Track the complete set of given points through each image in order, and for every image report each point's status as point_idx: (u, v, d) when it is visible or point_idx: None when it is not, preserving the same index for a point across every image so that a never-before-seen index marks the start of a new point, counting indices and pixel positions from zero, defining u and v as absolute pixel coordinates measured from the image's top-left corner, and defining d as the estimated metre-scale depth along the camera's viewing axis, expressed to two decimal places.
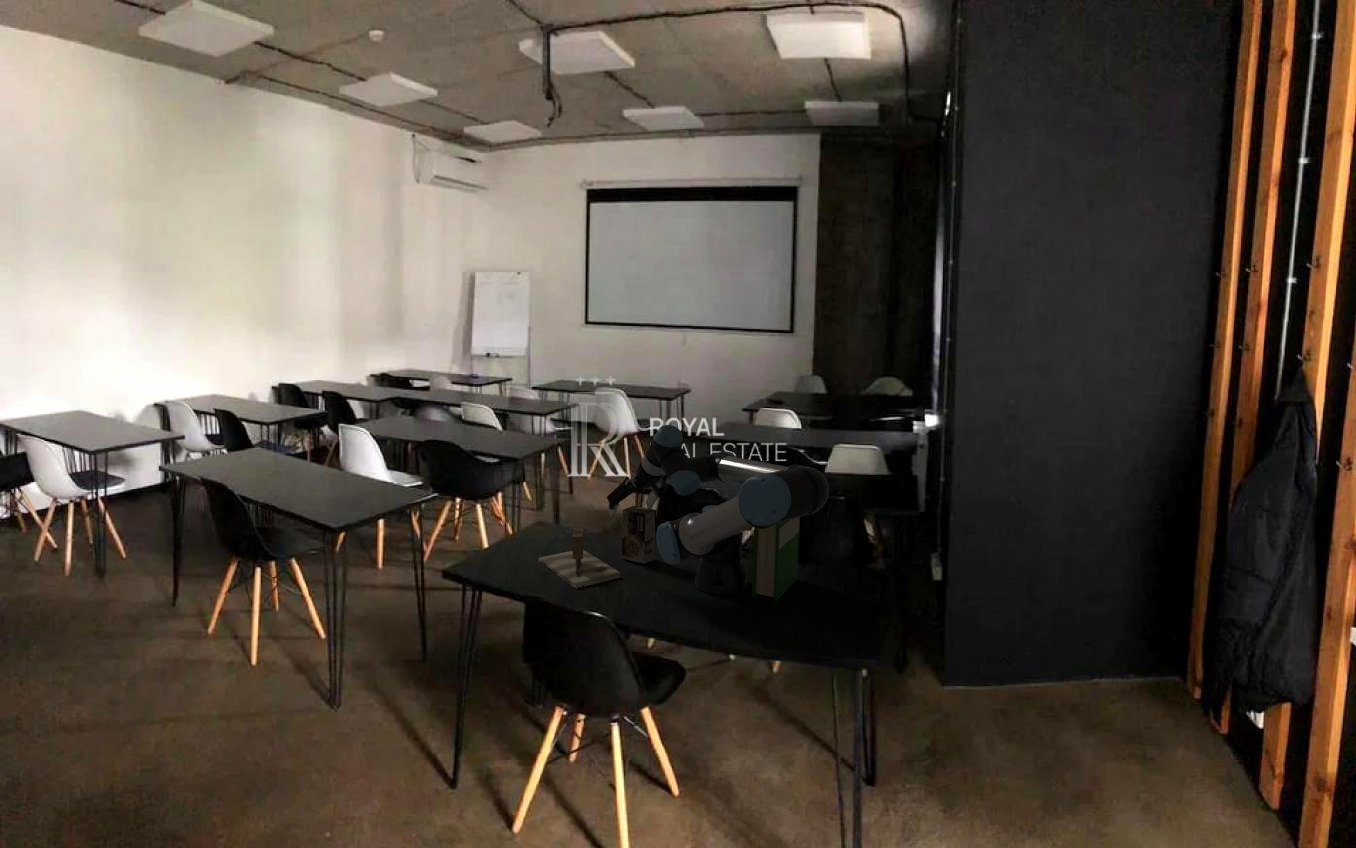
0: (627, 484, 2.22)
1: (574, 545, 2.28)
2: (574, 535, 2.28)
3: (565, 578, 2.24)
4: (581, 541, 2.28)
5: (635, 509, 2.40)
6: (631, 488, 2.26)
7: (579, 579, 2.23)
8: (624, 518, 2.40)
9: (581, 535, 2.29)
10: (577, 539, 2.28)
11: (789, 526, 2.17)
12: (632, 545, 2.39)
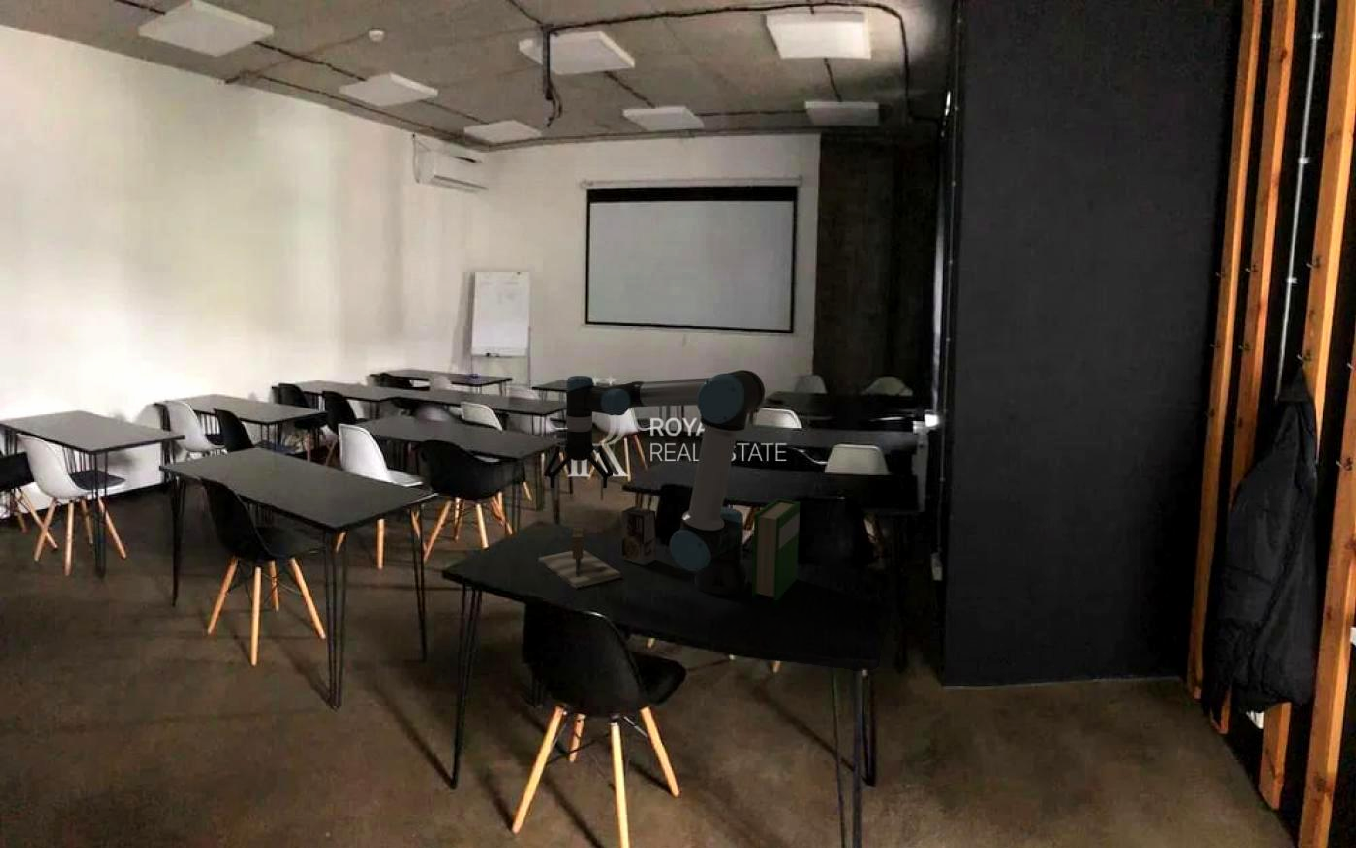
0: None
1: (574, 545, 2.28)
2: (574, 535, 2.28)
3: (565, 578, 2.24)
4: (581, 541, 2.28)
5: (634, 510, 2.40)
6: (565, 458, 2.26)
7: (579, 579, 2.23)
8: (623, 520, 2.39)
9: (581, 535, 2.29)
10: (577, 539, 2.28)
11: (789, 526, 2.17)
12: (631, 546, 2.39)
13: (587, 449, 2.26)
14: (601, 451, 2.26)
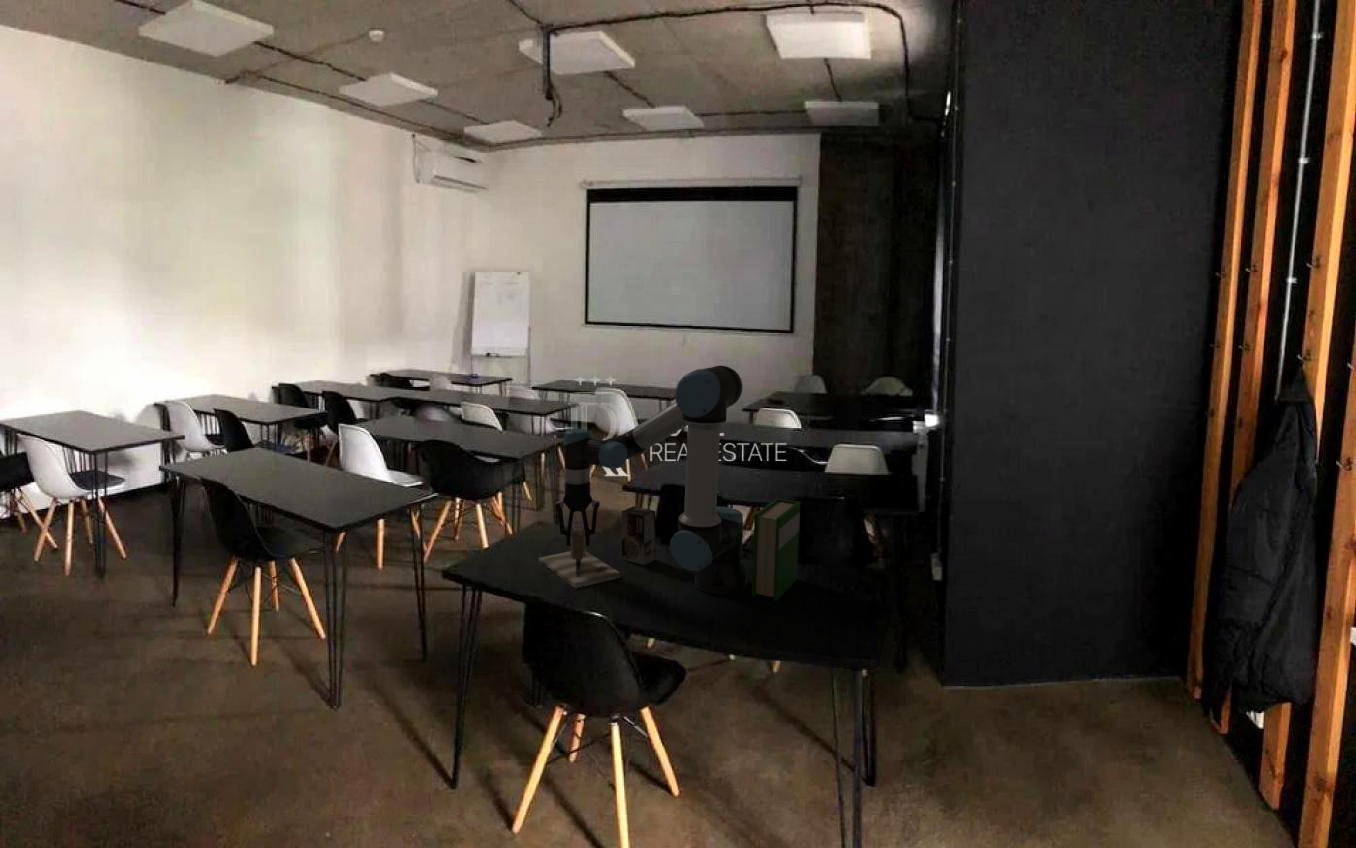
0: None
1: (574, 545, 2.28)
2: (574, 535, 2.28)
3: (565, 578, 2.24)
4: (581, 541, 2.28)
5: (634, 510, 2.40)
6: None
7: (579, 579, 2.23)
8: (623, 520, 2.39)
9: (581, 535, 2.29)
10: (577, 539, 2.28)
11: (789, 526, 2.17)
12: (631, 546, 2.39)
13: (586, 499, 2.28)
14: (596, 508, 2.29)
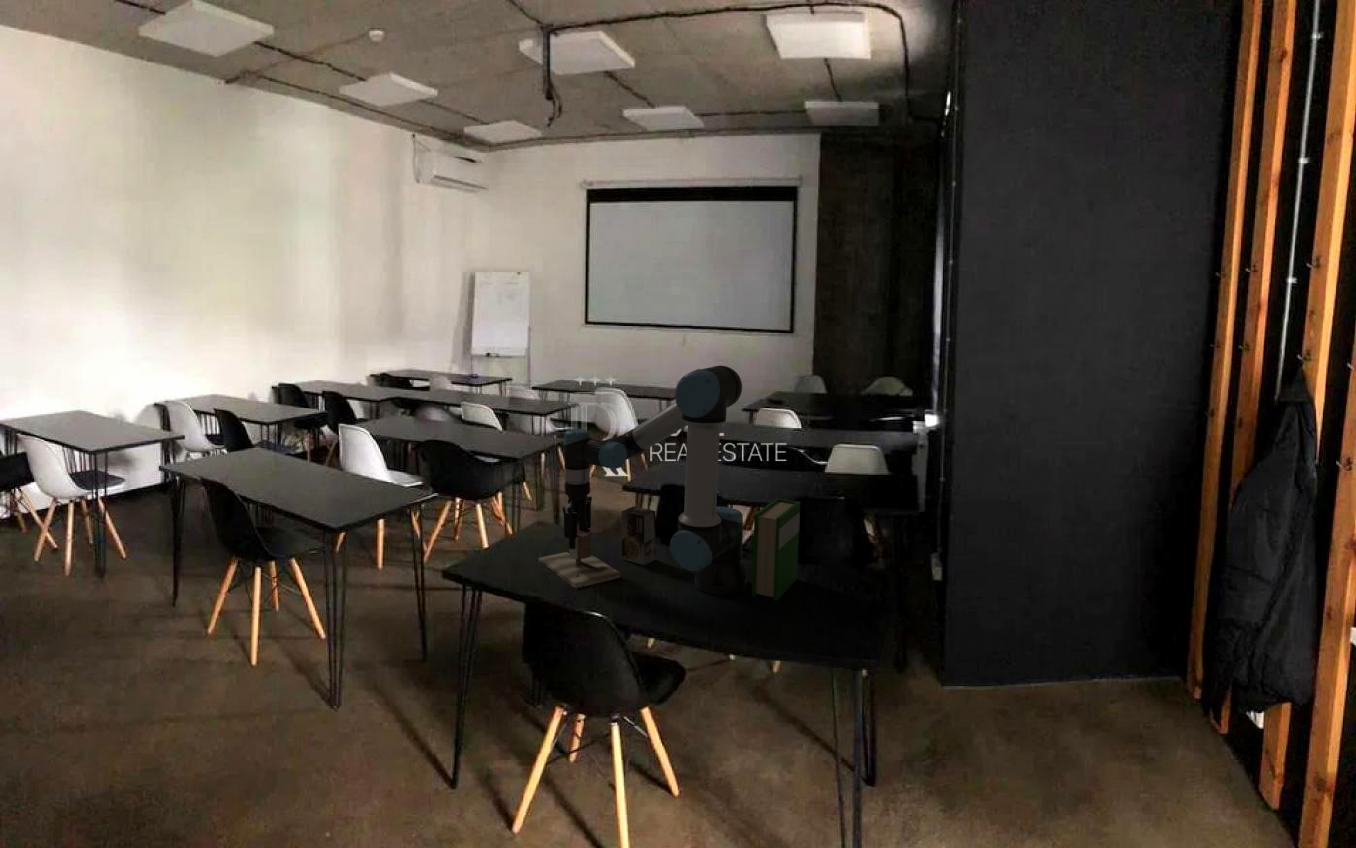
0: (568, 511, 2.24)
1: (584, 544, 2.28)
2: (581, 535, 2.29)
3: (565, 578, 2.24)
4: (589, 539, 2.30)
5: (634, 510, 2.40)
6: (574, 515, 2.28)
7: (579, 579, 2.23)
8: (623, 520, 2.39)
9: (587, 533, 2.30)
10: (586, 538, 2.29)
11: (789, 526, 2.17)
12: (631, 546, 2.39)
13: (584, 497, 2.31)
14: (590, 502, 2.35)
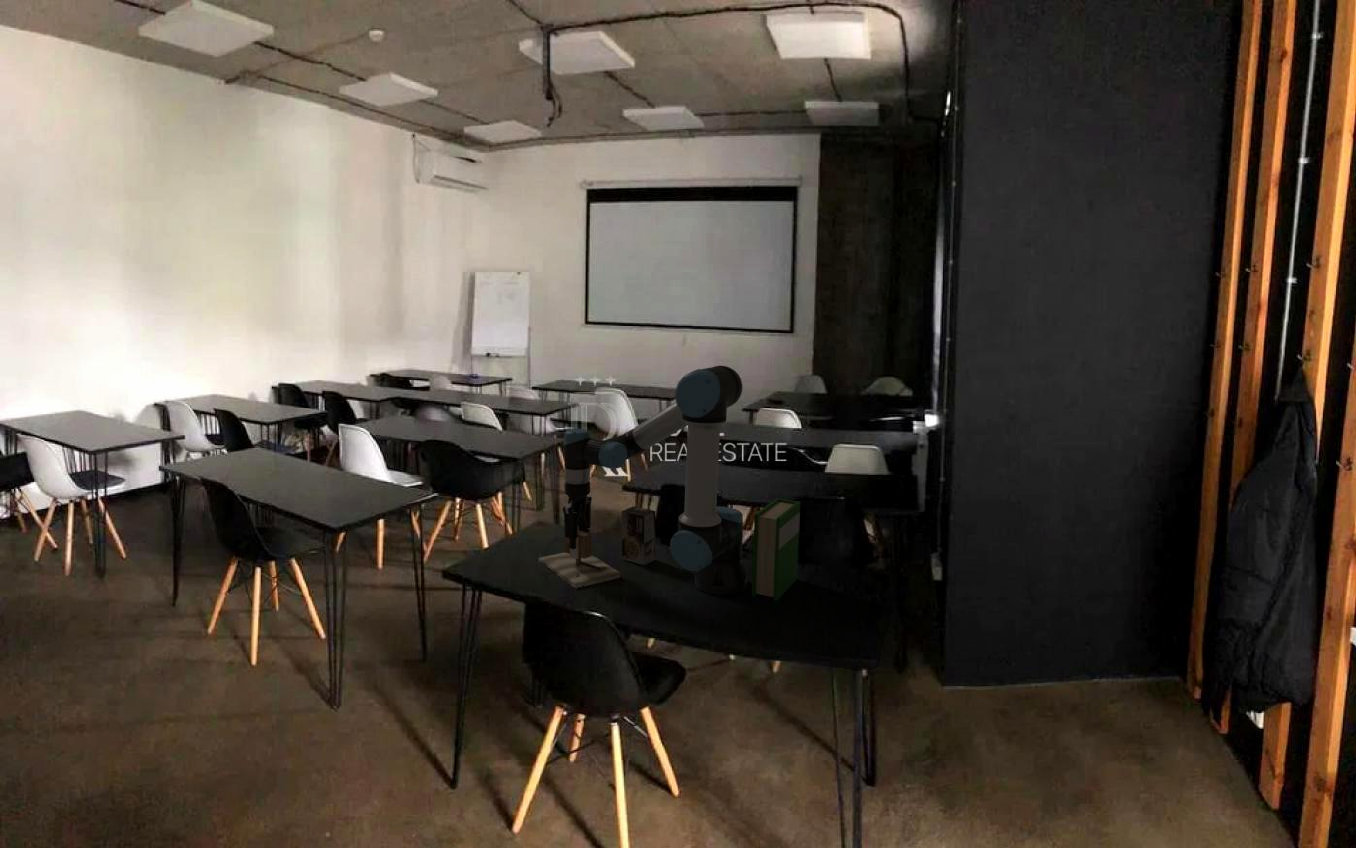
0: (568, 511, 2.24)
1: (585, 544, 2.29)
2: (582, 535, 2.29)
3: (565, 578, 2.24)
4: (590, 538, 2.30)
5: (634, 510, 2.40)
6: (574, 515, 2.28)
7: (579, 579, 2.23)
8: (623, 520, 2.39)
9: (587, 533, 2.30)
10: (587, 538, 2.29)
11: (789, 526, 2.17)
12: (631, 546, 2.39)
13: (584, 497, 2.31)
14: (590, 502, 2.35)
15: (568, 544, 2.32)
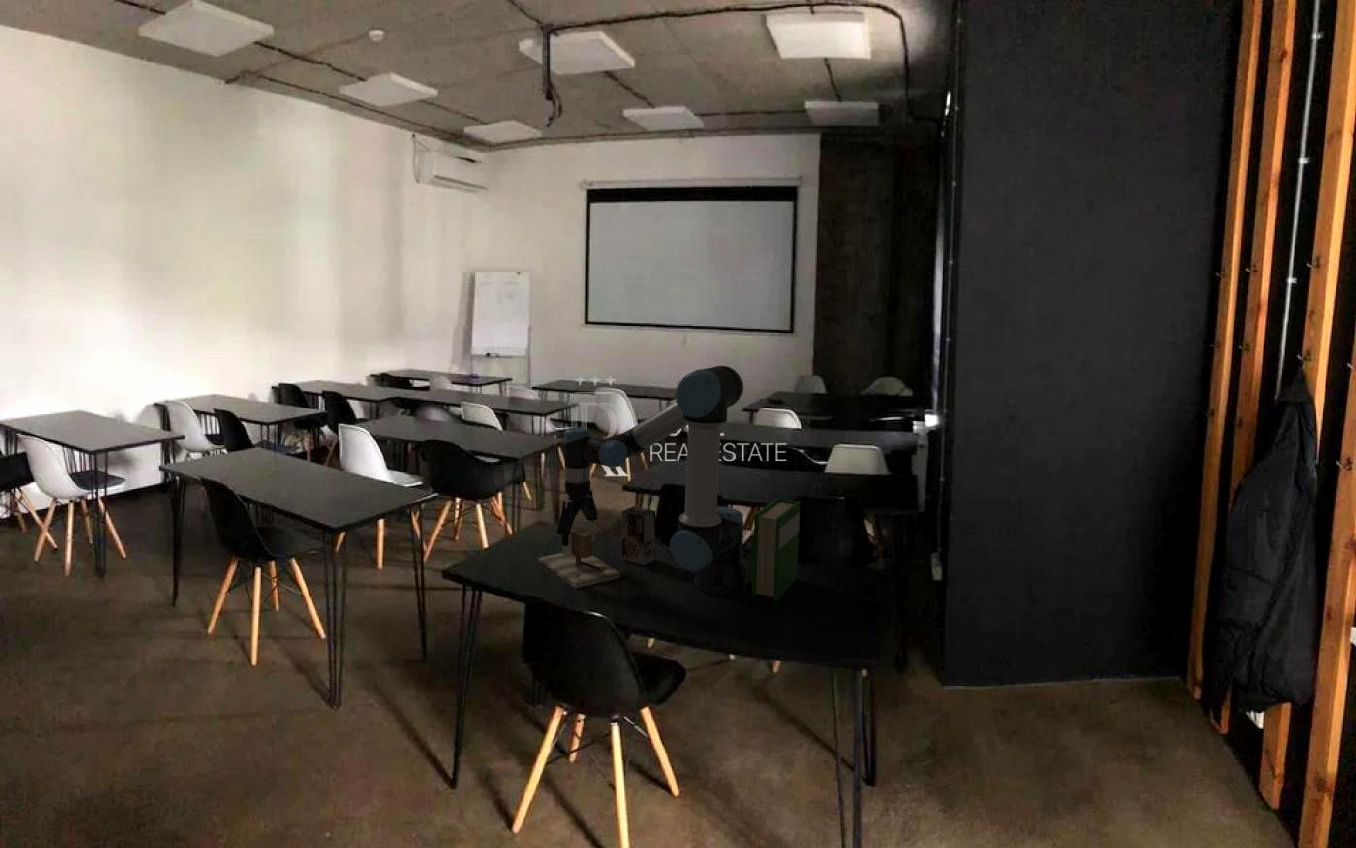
0: (568, 505, 2.23)
1: (585, 544, 2.29)
2: (582, 535, 2.29)
3: (565, 578, 2.24)
4: (590, 538, 2.30)
5: (634, 510, 2.40)
6: (572, 512, 2.26)
7: (579, 579, 2.23)
8: (623, 520, 2.39)
9: (587, 533, 2.31)
10: (587, 538, 2.29)
11: (789, 526, 2.17)
12: (631, 546, 2.39)
13: (585, 497, 2.31)
14: (591, 495, 2.35)
15: None
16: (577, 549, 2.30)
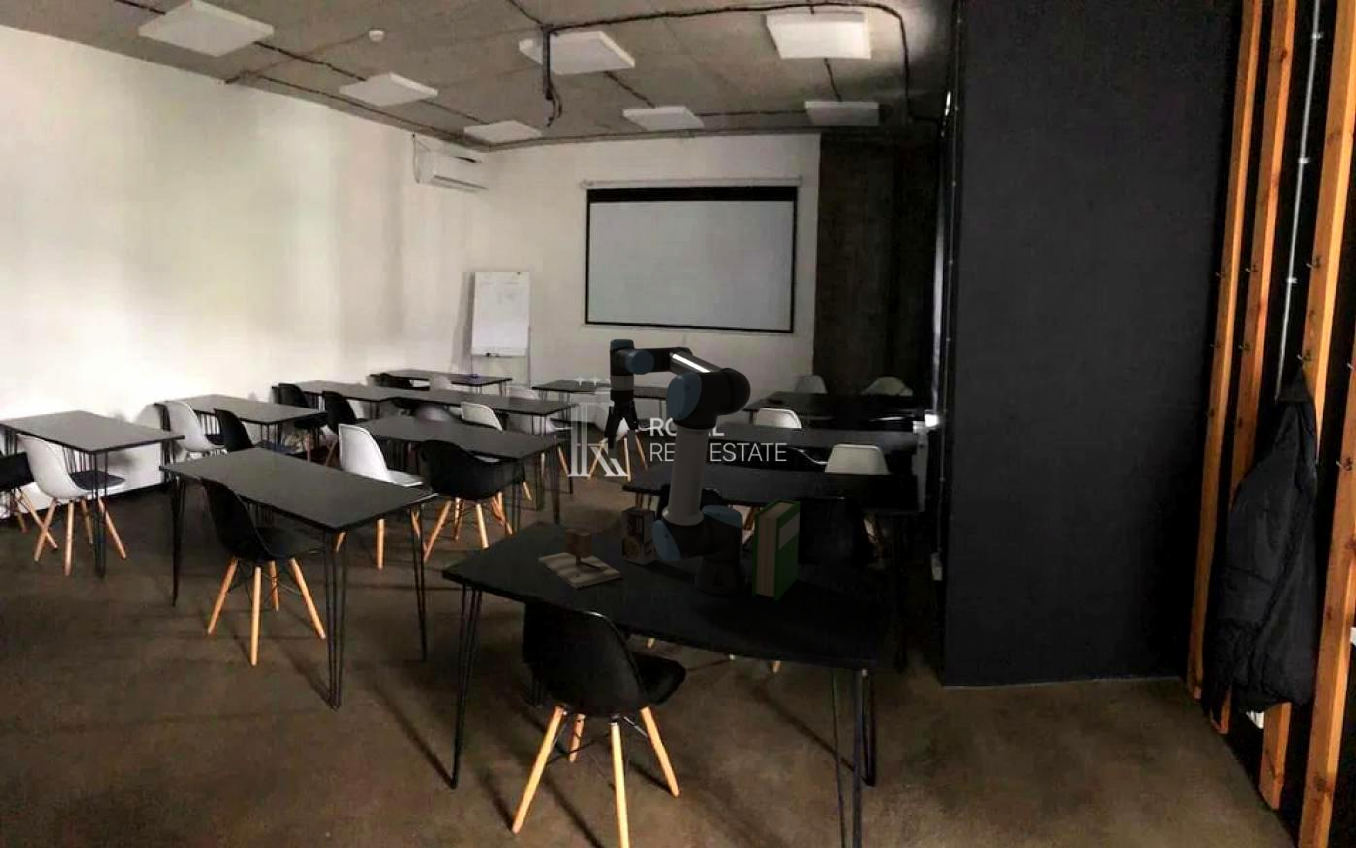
0: (614, 409, 2.37)
1: (585, 544, 2.29)
2: (582, 535, 2.29)
3: (565, 578, 2.24)
4: (590, 538, 2.30)
5: (634, 510, 2.40)
6: (617, 418, 2.40)
7: (579, 579, 2.23)
8: (623, 520, 2.39)
9: (587, 533, 2.31)
10: (587, 538, 2.29)
11: (789, 526, 2.17)
12: (631, 546, 2.39)
13: (628, 405, 2.45)
14: (634, 405, 2.49)
15: (568, 544, 2.32)
16: (577, 549, 2.30)
